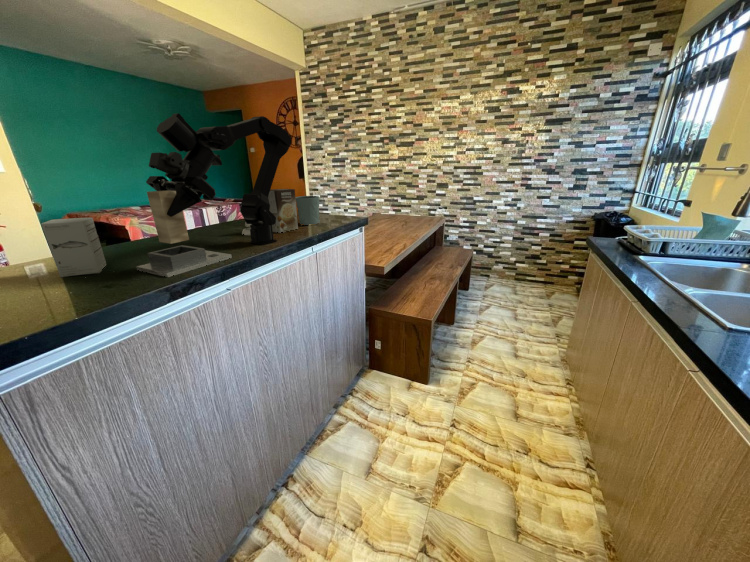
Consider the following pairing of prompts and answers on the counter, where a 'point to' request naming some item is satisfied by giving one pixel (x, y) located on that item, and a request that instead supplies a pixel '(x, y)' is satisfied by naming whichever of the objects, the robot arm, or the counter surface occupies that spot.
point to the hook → (247, 230)
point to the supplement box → (74, 246)
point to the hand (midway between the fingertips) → (162, 215)
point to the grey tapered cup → (308, 209)
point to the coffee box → (283, 209)
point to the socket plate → (180, 260)
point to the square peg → (167, 217)
